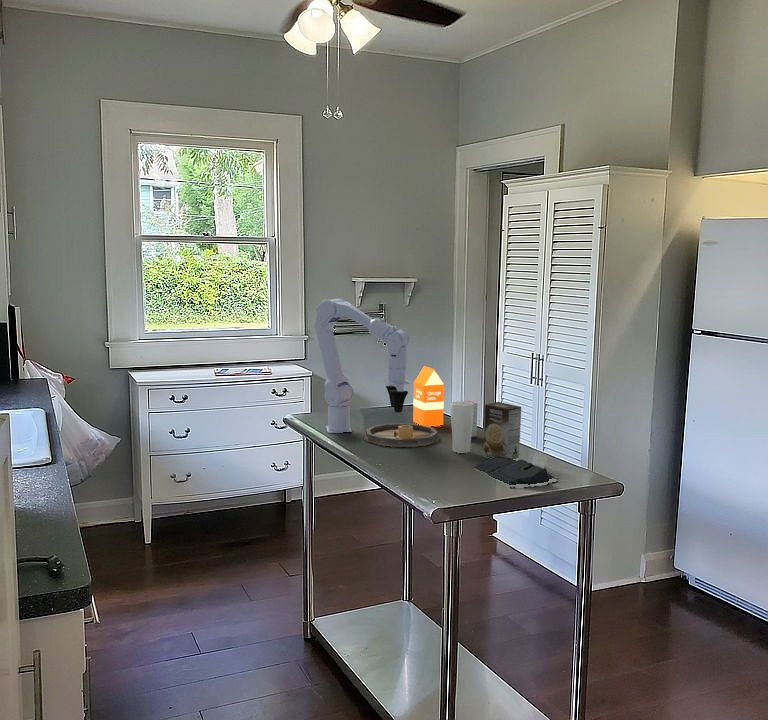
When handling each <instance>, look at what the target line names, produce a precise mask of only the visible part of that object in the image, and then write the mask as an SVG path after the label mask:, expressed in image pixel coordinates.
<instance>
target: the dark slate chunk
mask: <svg viewBox="0 0 768 720" xmlns="http://www.w3.org/2000/svg"><path fill="white" fill-rule="evenodd" d="M473 468H476V469H478V470H480V471H483V472H485V473H487V474H488V475H489V476H491V477H493V478H495V479H498V480H500V481H503V482H504V483H507V484H509V485H516V484H528V485H530V484H537V483H544V482H548V481H549V479H552V478H556V477H554V476H553V475H552V474H550V473H548V471H547V470H548V469H546V468H542V467H540V466H537V465H534V464H533V463H532V462H528V461H526V460H524V459H522V458H521V459H519V460H518V461H516V460H513V459H511V458H508V457H500V456H496V457H494V458H491V459H487V460H485V462H481V463H478V464H477V465H475V466H474V467H473Z"/></svg>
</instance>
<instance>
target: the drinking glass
mask: <svg viewBox="0 0 768 720" xmlns="http://www.w3.org/2000/svg"><path fill="white" fill-rule="evenodd" d="M466 401H467V400H460V401H459V400H458V401H453V402H451V406H450V424H451V439H452V452H453V451H454V452H453V453H455V452H457V453H456V454H459V453H466V454H469V453H470V452H471V444H472V443H471V442H472V438H471V435H472V426H473V416H474V404H473V403H472V402H473V401H471V402H466ZM468 452H469V453H468Z"/></svg>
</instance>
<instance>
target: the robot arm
mask: <svg viewBox="0 0 768 720" xmlns="http://www.w3.org/2000/svg"><path fill="white" fill-rule="evenodd" d="M315 313H316V317H315V323H314V329H315V333H316V337H317V341H318V345H319V346H318V347H319V350H320V353H321V357H322V362H323V366H324V370H325V374H326V375H325V376H326V380H325V382H324V384H323V385H324V386H323V387H324V399H325V402H326V403H327V406H328V407H327V409H328V411H327V413H328V414H327V416H328V417H327V423H328V424H327V425H325V428H326V431H327V433H328V434H344V433H343V432H352V433H353V430H352V429H351V424H350V423H351V422H350V421H351V419H350V418H351V417H350V416H351V415H350V414H351V406H350V405H351V399H353V397H354V388H353V387H352V386H351V384H350V382H349V379H348V378H347V377H346V375H344V372H343V369H342V368H343V367H342V363H341V361H340V356H339V352H338V347H337V343H336V339H335V336H334V331H333V329H334V327H335V326H336V324H337V322H338V321H339V320H341V319H342V318H348V319H350V320H352V321H354V322H356V323H358V324H359V325H361V326H363V327H366V328H367V330H368V333H369V334H370V335H371V336H373V337H375V338H377V339H379V340H380V341H381V342H383V343H385V345H386V346H387V349H388V355H387V356H388V357H387V358H388V359H387V362H388V363H387V365H388V367H387V381H386V383H387V385H385V388H386V389H387V393H388V397H389V402H390V403H389V404H390V407H391V408H393V409H394V413H403V412H402V411H403V409H404V405H405V404H404V403H405V400H406V399H407V398H406V397H407V396H408V393H409V391H408V390H404V389H405V388H404V387H405V386H406V385H409V384H410V380H407V346H408V345H409V343H410V336H409V334H408V332H406V330H405V329H398V327H397V326H396V325H394V326H393V325H391V324H389V323H387V322H386V319H384V318H383V317H380V318H379V317H375V318H372V317H371V316H369V315H368V314H366V313H364V312H363V311H361V310H360V309H359V308H358V307H356V306H354V305H353V304H352V303H350V302H348V301H345V300H344V299H343V298H338V297H337V298H333V299H323V300H321V301H320V303H319V304H318V305H317V307H316V308H315Z"/></svg>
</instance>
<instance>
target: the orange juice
mask: <svg viewBox="0 0 768 720" xmlns="http://www.w3.org/2000/svg"><path fill="white" fill-rule="evenodd" d="M444 393H445V383H444V382H443V381H442V379H441V377H440V375H439V374H438V373H437V371H436V370H435V369H434V368H432V367H428V366H426V365H423V367H422V369H421V371H420V372H419V374H418V375H417V377H416V378H415V380H414V381H413V415H412V416H413V417H412V420H413V421H412V422H413V423H414V422H415V423H414V424H416V423H417V424H419V425H424V426H428V427H431V426H434V427H441V426H440V425H443V426H444V408H445V407H444V406H445V405H444V404H445V401H444V400H445V398H444V397H445V395H444ZM431 428H432V427H431Z"/></svg>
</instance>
